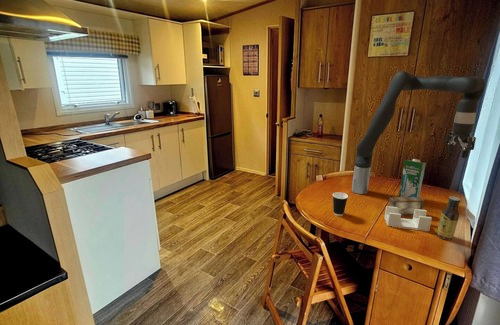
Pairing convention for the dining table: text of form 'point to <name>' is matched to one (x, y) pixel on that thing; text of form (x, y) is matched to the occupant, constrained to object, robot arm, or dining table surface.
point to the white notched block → (416, 223)
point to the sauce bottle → (449, 219)
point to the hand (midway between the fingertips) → (456, 155)
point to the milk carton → (412, 178)
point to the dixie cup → (339, 203)
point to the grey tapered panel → (406, 204)
